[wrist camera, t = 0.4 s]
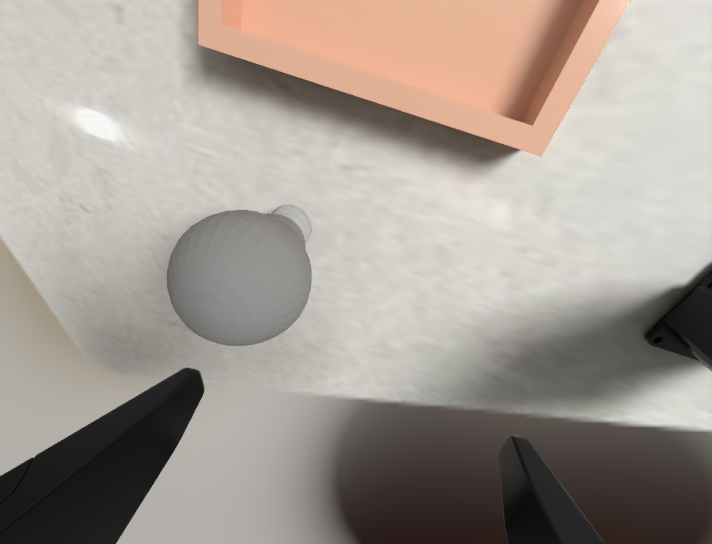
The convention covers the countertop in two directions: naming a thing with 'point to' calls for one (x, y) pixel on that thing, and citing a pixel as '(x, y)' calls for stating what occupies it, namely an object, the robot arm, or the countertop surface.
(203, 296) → the light bulb
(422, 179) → the countertop surface
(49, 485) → the robot arm
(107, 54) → the countertop surface
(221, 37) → the dish
